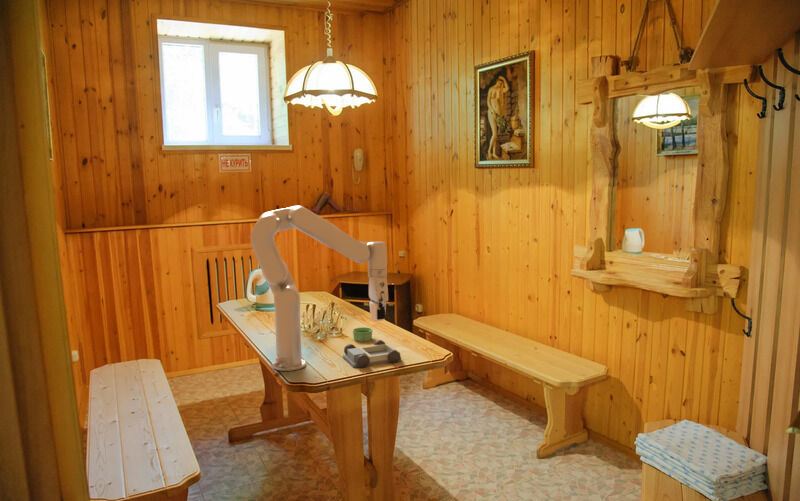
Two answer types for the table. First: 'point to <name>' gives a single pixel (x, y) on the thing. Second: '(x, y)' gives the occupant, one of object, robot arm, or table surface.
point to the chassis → (371, 354)
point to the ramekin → (362, 334)
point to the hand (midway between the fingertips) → (377, 316)
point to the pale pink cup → (374, 311)
